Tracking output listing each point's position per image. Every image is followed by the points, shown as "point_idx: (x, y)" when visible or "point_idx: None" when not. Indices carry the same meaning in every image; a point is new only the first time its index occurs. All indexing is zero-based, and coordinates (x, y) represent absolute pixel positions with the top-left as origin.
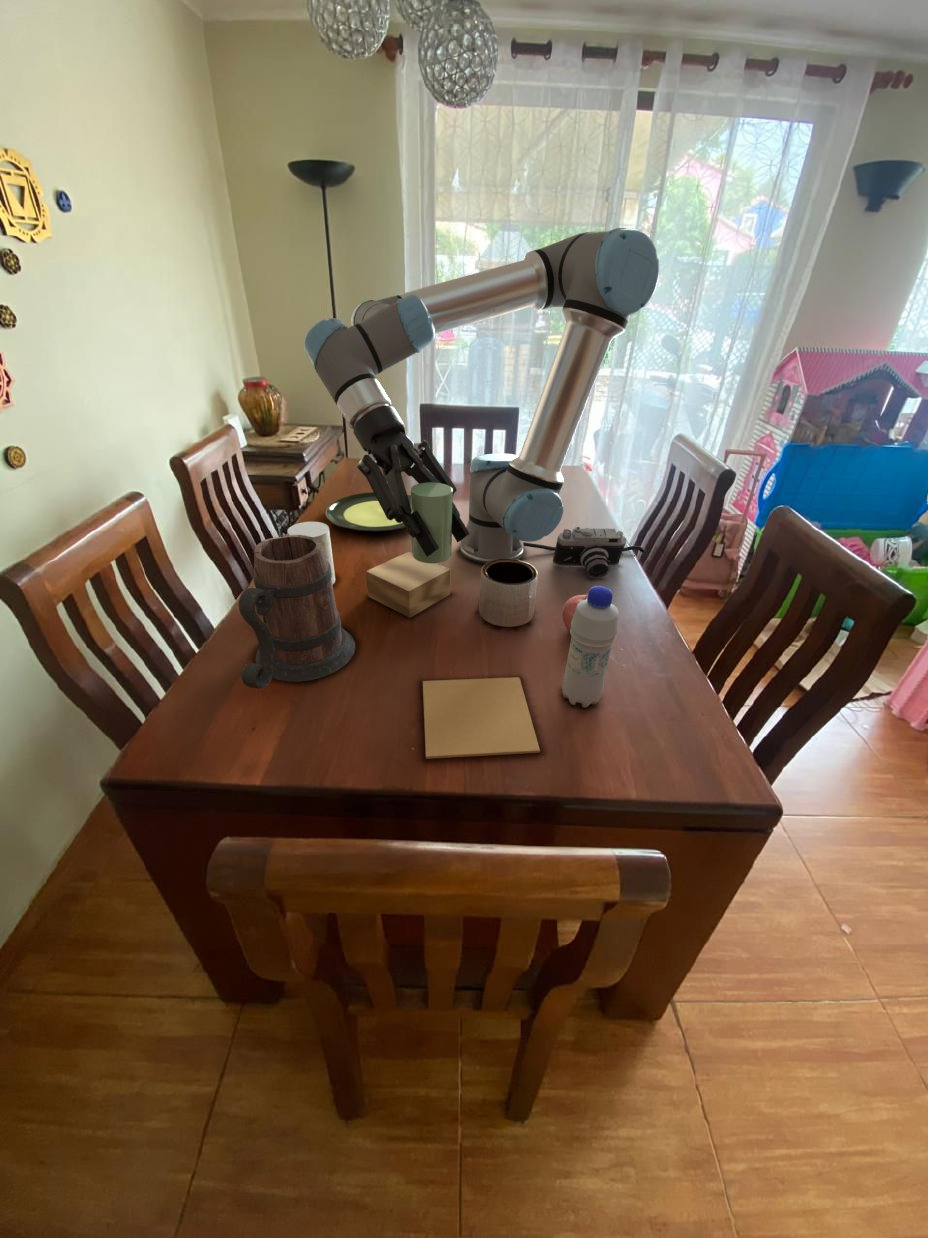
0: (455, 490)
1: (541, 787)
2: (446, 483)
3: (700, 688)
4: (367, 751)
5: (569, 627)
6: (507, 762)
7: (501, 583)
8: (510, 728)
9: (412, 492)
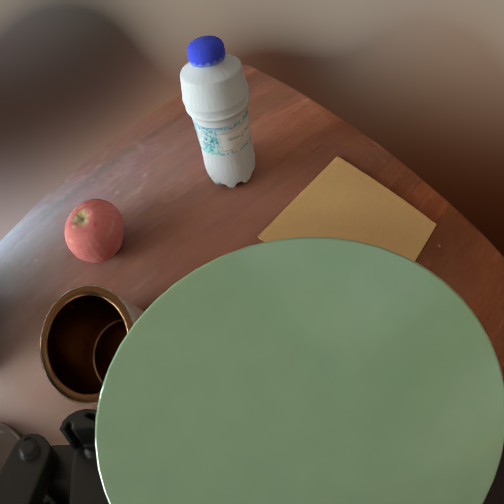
0: (33, 436)
1: (363, 140)
2: (34, 497)
3: (141, 121)
4: (475, 275)
5: (121, 240)
6: (371, 171)
7: (132, 325)
8: (340, 189)
9: (494, 475)
